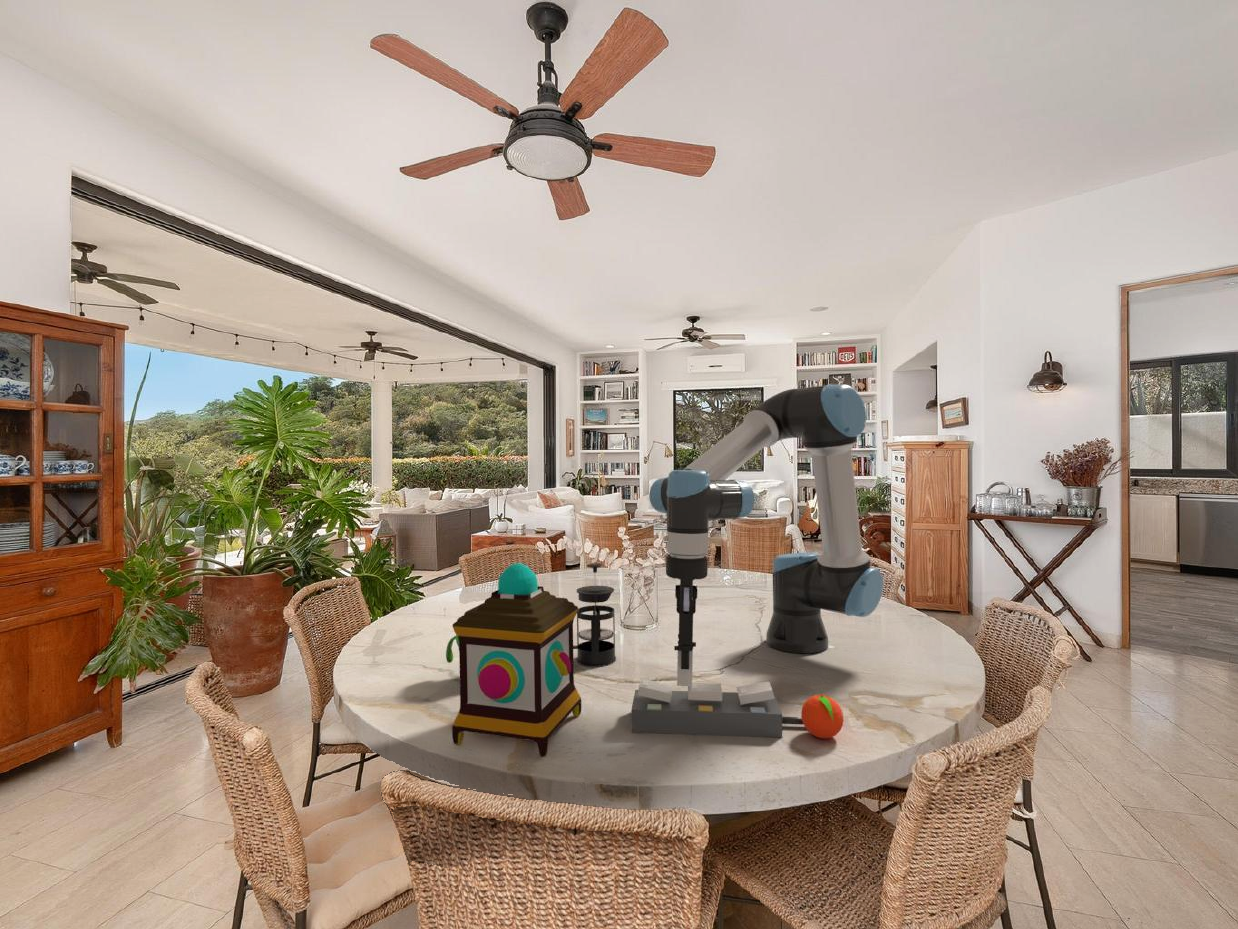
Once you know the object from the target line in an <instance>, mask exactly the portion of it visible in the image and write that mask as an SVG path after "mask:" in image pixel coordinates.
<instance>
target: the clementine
mask: <svg viewBox="0 0 1238 929" xmlns="http://www.w3.org/2000/svg"><path fill="white" fill-rule="evenodd" d="M800 714H801V716H800V717H802V721H803V724H804V725H803V726H804V728H805V729H806V731H808V733H810V734H811V735H813V736H814V737H817V738H819V739H831V738H833V737H835V736H837V735H838V733H840V732H841V730H842V728H843V726H844V715H843V714H844V713H843V711H842V708H841V706H840V705H839V704H838V703H837V701H836V700H835V699H833V698H831V697H830V696H827V695H825V694H816V695H813V696H811V697H809V698H808V699H807V700H805V702H804V703H803V706H802V708H801V713H800Z"/></svg>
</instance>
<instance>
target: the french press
mask: <svg viewBox="0 0 1238 929" xmlns="http://www.w3.org/2000/svg"><path fill="white" fill-rule="evenodd" d="M585 567H586V568H592V571H593V573H594V576H593V577H594V580H593V581H594V585H587V586H581V587H579V588H577V589H576V593H577V594H578V600H579V601H580V602H583V603H589V604H593V603H594V605H587V606H581V607H578V611H577V614H576V633H577V634H576V639H577V641H576V642H577V645H573V650H577V651H576V652H577V657H576V662H577V664H579V665H581V666H585V667H590V666H593V667H592V668H594V666H600V667H604V666H603V665H606V666H609V665H608V664H610V663H612V664H613V662H614V663H615V662H616V661H617V656H616V637H615V636H616V634H615V632H616V631H615V630H616V625H615V624H616V622H615V608H614V607H612V606H609V605H599V604H598V603H605V602H607V601H608V600H609V599H610V597H611V596H612V593H614V591H615V588H613V587H611V586H607V585H597V573H598V568H603V567H605V565H604V564H603V563H600V562H599V563H589V564H586V565H585ZM597 604H598V605H597ZM587 612H592V614H584V613H587ZM601 612H607V613H602V614H601ZM610 619H613V620H612V621H613V622H612V623H613V626H612V627H613V628H612V630H611V629H608V628H601V621H606V620H610ZM579 620H584V621H590V628H586V629H583V630H579V629H580V628H579ZM611 638H613V642H611V641H608V640H609V639H611ZM580 639H581V640H584V642H581V643H580ZM610 665H611V664H610Z"/></svg>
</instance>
